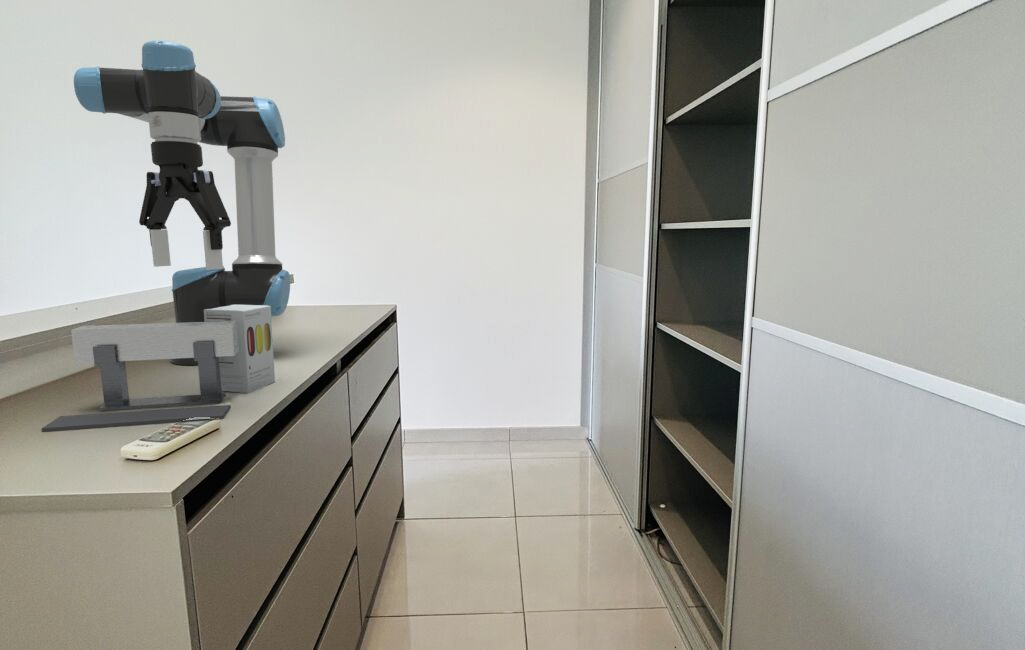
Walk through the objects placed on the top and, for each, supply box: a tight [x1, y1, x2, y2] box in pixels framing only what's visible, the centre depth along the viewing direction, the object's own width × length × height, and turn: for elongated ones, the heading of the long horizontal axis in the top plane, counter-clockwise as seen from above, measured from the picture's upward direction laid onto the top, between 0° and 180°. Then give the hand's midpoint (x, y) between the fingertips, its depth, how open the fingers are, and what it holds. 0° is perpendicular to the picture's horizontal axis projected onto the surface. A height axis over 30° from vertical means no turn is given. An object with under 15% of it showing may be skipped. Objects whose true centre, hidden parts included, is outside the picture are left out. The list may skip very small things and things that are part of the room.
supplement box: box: [204, 305, 276, 394], centre depth 121 cm, size 10×9×17 cm
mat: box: [41, 404, 232, 433], centre depth 101 cm, size 6×27×1 cm, turn 105°
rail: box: [70, 321, 239, 364], centre depth 108 cm, size 4×26×6 cm, turn 105°
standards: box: [93, 342, 227, 412], centre depth 109 cm, size 7×20×12 cm, turn 105°
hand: (187, 267), depth 102 cm, fingers open, 13 cm apart
